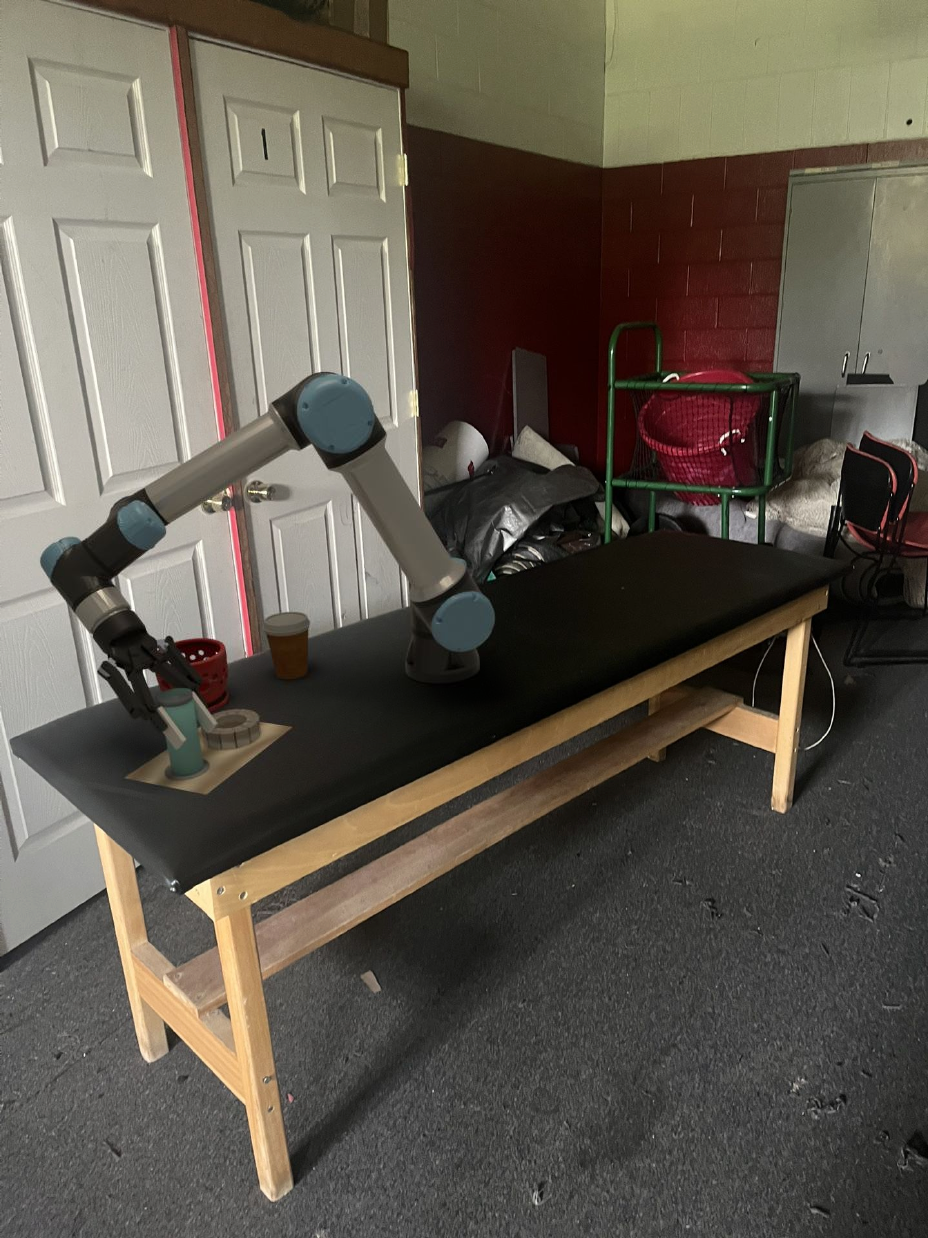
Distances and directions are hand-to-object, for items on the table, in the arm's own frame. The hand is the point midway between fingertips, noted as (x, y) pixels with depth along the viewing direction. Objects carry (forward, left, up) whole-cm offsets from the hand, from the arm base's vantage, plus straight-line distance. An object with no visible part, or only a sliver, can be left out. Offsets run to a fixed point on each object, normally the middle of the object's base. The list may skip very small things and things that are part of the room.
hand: (196, 736), depth 138 cm
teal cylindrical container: (+3, -1, -7) cm, 7 cm away
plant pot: (+19, -22, -8) cm, 30 cm away
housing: (+4, -7, -8) cm, 11 cm away
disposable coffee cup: (+11, -42, -8) cm, 44 cm away
